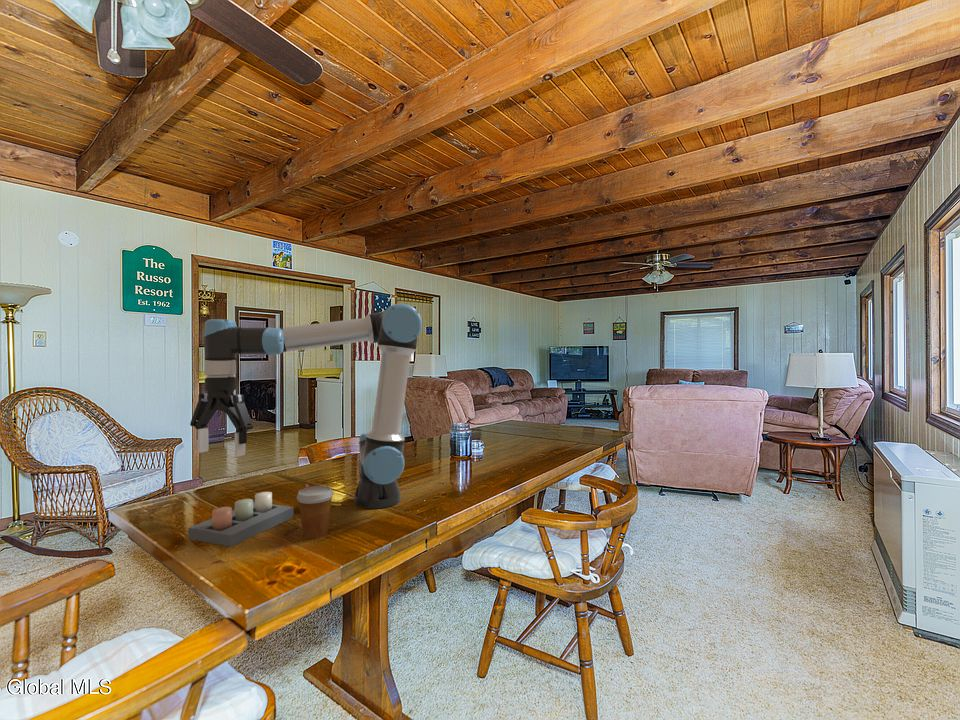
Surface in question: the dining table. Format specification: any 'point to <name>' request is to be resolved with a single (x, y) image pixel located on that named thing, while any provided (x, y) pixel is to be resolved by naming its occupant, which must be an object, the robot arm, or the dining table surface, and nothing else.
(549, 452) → the dining table surface
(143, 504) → the dining table surface
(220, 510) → the terracotta button
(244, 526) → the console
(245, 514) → the sage button
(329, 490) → the disposable coffee cup
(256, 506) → the cream short cylinder
